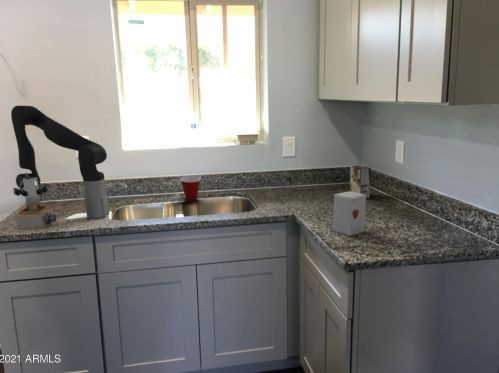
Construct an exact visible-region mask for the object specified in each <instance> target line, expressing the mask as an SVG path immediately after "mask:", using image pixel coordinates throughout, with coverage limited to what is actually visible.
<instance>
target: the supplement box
mask: <svg viewBox="0 0 499 373" xmlns="http://www.w3.org/2000/svg"><path fill="white" fill-rule="evenodd" d="M333 195H334V196H333V218H332V219H333V220H332V221H333V222H332V224H333V225H332V226H333V227H332V231H334V232H338V233H340V234H344V235H347V236H353V235H358V234H360V233H363V232H365V230H366V225H365V224H366V209H367V208H366V207H367V206H366V202H367V198H366V195H364V194H359V193H355V192H350V190H349V191H344V192H340V193H335V194H333Z"/></svg>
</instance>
